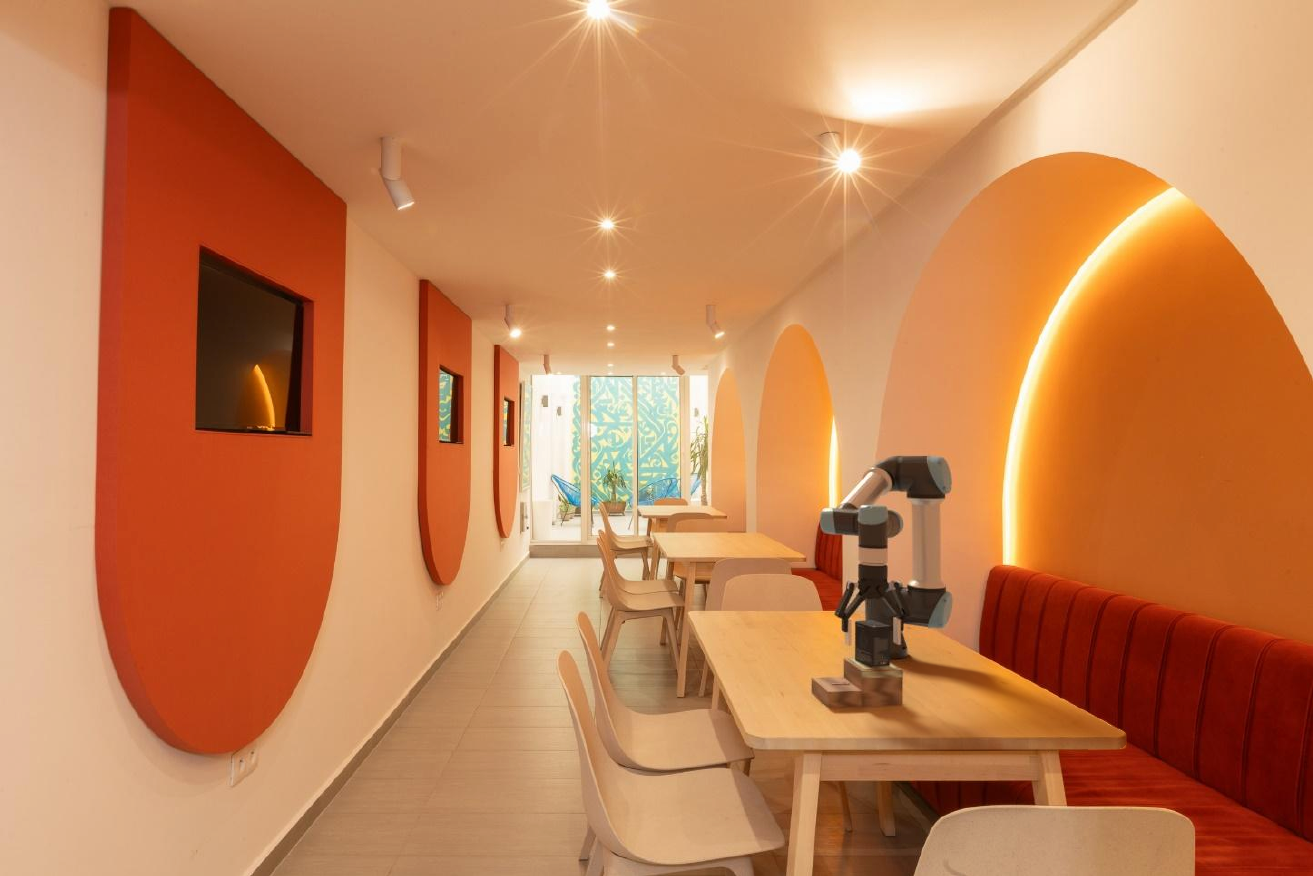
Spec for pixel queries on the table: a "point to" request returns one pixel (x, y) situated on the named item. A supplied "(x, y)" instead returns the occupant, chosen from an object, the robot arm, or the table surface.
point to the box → (872, 643)
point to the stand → (861, 686)
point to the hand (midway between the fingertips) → (872, 644)
